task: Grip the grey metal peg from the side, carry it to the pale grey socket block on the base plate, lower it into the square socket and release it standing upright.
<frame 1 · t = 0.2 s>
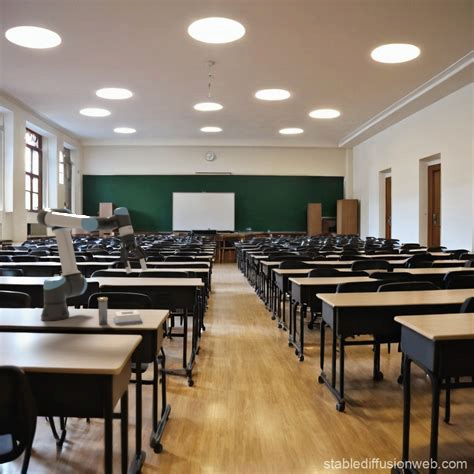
hand: (137, 271, 244), 27 cm above the table, tool tilted 15°, fingers open, 13 cm apart
socket block: (127, 321, 242), on the table
grey metal peg: (103, 323, 236), on the table
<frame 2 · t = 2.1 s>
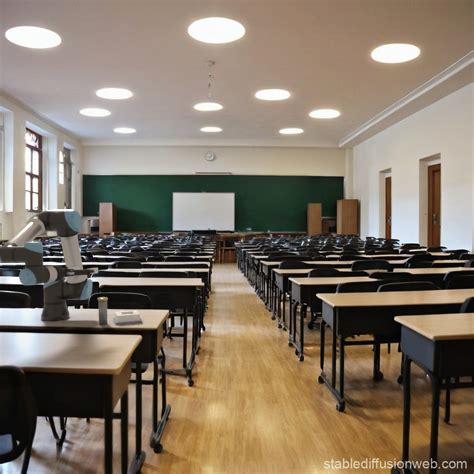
hand: (88, 269, 227), 30 cm above the table, tool horizontal, fingers open, 13 cm apart
nothing on the table moved.
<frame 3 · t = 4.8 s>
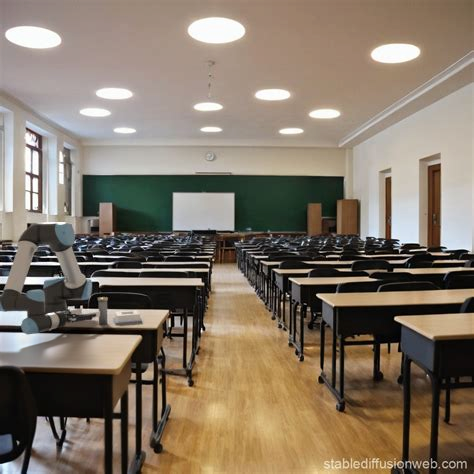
hand: (90, 312, 228), 8 cm above the table, tool horizontal, fingers open, 13 cm apart
nothing on the table moved.
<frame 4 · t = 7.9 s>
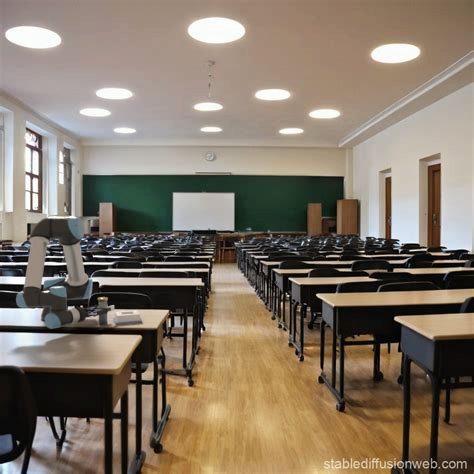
hand: (110, 307, 240), 8 cm above the table, tool horizontal, fingers closed on grey metal peg, 4 cm apart
grey metal peg: (103, 323, 236), on the table, touching gripper
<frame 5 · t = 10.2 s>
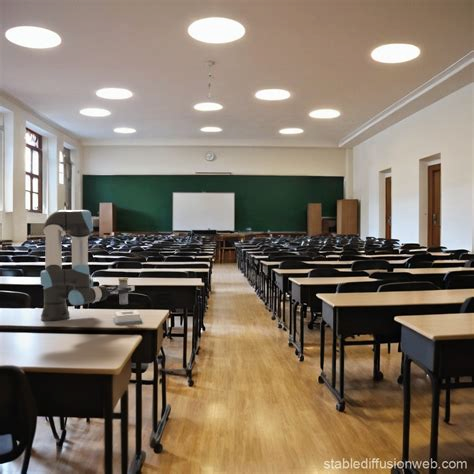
hand: (130, 287, 244), 18 cm above the table, tool horizontal, fingers closed on grey metal peg, 4 cm apart
grey metal peg: (123, 303, 240), point 10 cm above the table, touching gripper
when the fingers open (10 cm above the table, at t = 12.5 s): grey metal peg drops 1 cm, resting on socket block.
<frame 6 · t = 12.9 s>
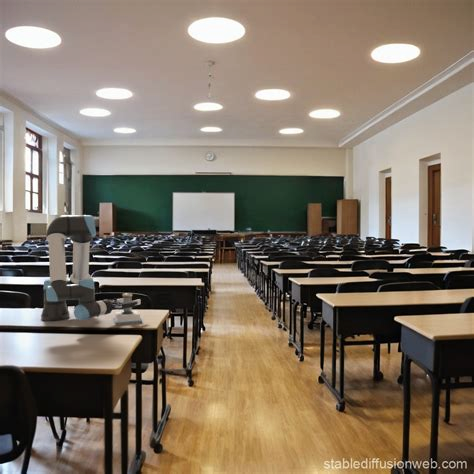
hand: (132, 300, 245), 10 cm above the table, tool horizontal, fingers open, 10 cm apart
grey metal peg: (127, 319, 242), point 1 cm above the table, touching socket block
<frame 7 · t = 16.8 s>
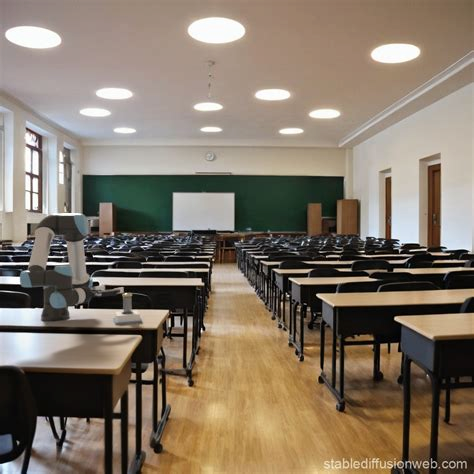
hand: (113, 288, 232), 19 cm above the table, tool horizontal, fingers open, 13 cm apart
nothing on the table moved.
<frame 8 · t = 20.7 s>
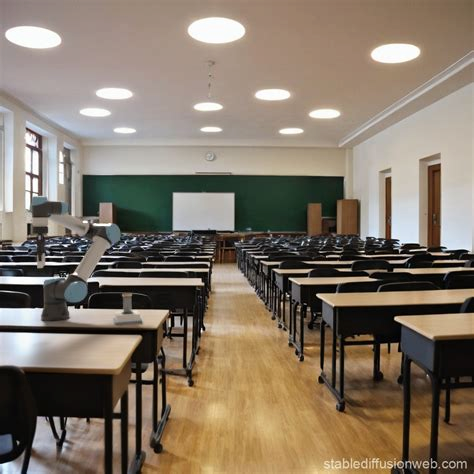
hand: (41, 266, 229), 32 cm above the table, tool pointing down, fingers open, 13 cm apart
nothing on the table moved.
at the end: grey metal peg 0.1 cm off-centre on the socket block, point 1.0 cm above the socket block's base; grey metal peg tilted 0°; the gripper is holding nothing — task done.
